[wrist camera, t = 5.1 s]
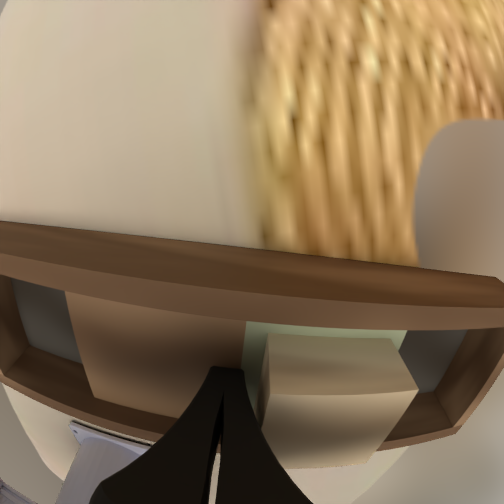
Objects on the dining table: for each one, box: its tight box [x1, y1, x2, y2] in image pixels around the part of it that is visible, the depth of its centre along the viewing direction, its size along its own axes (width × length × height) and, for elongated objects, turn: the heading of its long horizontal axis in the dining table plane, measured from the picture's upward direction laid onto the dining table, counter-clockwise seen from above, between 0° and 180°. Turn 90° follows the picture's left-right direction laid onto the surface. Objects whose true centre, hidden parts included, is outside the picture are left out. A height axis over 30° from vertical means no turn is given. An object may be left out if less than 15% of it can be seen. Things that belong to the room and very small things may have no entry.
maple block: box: [253, 333, 419, 469], centre depth 10 cm, size 5×5×3 cm
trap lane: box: [0, 221, 504, 453], centre depth 12 cm, size 9×29×4 cm, turn 84°
